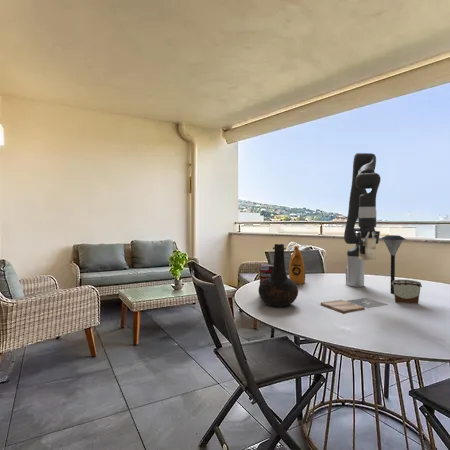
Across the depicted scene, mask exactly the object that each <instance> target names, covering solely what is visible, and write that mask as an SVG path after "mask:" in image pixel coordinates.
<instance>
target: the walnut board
mask: <svg viewBox="0 0 450 450" xmlns="http://www.w3.org/2000/svg"><path fill="white" fill-rule="evenodd" d="M347 301H348V300H343V299H337V300H336V299H335V300H329V301H324V302H320V306H323V307H325V308H328V309H331V310H332V311H333V310H334V311H336V312H338V313H342V314H346V313H350V312H356V311H357V312H358V311H362V310H365V308H366V307H363V306H359V305H356V304H353V303H350V302H347Z"/></svg>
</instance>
